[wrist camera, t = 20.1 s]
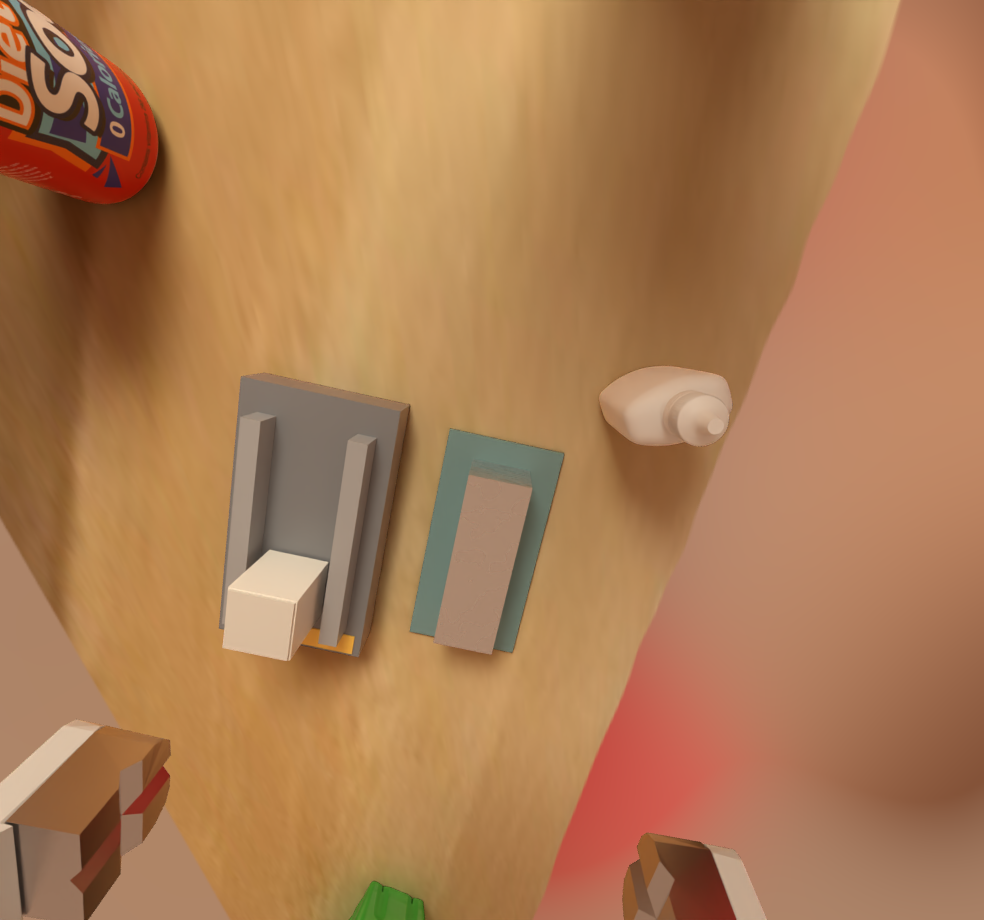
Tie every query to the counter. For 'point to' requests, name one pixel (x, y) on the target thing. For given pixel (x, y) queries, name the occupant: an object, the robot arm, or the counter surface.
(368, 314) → the counter surface
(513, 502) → the bar
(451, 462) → the mat
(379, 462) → the switch panel
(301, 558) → the switch tab
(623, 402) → the eye dropper bottle
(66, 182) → the soda can
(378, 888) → the fruit basket
